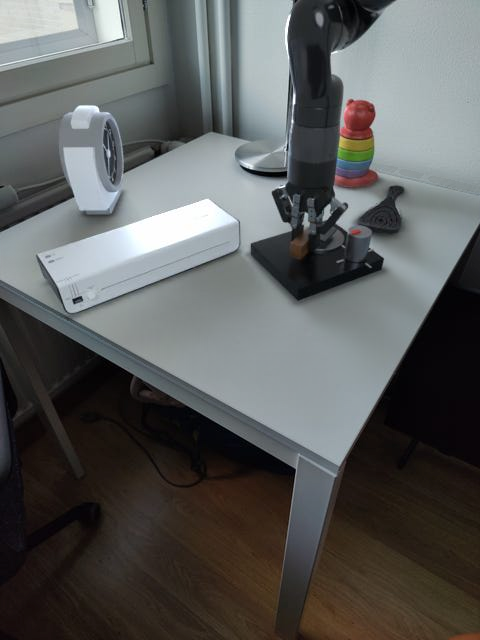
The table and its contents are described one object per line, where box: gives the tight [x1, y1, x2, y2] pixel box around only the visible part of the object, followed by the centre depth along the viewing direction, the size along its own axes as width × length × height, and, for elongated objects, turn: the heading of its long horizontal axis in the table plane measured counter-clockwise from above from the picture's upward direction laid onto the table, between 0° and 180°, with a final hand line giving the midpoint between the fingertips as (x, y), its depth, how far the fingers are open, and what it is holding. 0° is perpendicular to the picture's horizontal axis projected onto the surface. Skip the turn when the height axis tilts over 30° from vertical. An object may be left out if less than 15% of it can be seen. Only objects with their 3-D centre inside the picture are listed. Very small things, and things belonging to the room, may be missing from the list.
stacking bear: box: [334, 98, 379, 188], centre depth 105 cm, size 11×10×18 cm
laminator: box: [35, 198, 241, 315], centre depth 82 cm, size 34×12×6 cm, turn 124°
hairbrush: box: [356, 184, 405, 235], centre depth 97 cm, size 8×4×25 cm
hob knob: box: [344, 225, 373, 262], centre depth 80 cm, size 4×4×5 cm
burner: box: [304, 224, 344, 252], centre depth 86 cm, size 9×9×1 cm
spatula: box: [289, 225, 337, 260], centre depth 83 cm, size 12×4×3 cm, turn 145°
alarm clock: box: [58, 105, 125, 215], centre depth 97 cm, size 18×8×20 cm, turn 179°
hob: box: [250, 219, 385, 302], centre depth 84 cm, size 18×17×3 cm
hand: (304, 247), depth 82 cm, fingers closed on spatula, 2 cm apart
